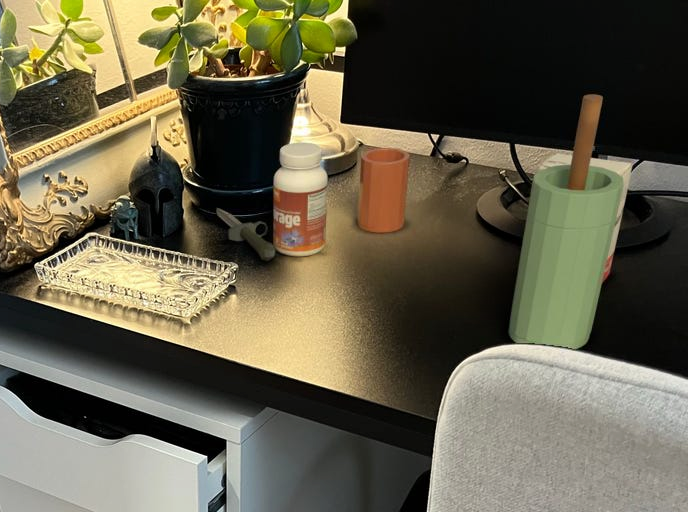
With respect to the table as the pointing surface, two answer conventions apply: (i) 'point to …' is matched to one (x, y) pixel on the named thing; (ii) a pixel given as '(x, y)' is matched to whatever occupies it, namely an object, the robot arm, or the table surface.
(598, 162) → the ink box
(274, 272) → the table surface
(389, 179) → the brush cup
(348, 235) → the table surface
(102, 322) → the table surface
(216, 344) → the table surface
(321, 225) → the pill bottle
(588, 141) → the brush
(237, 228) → the knife
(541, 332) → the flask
